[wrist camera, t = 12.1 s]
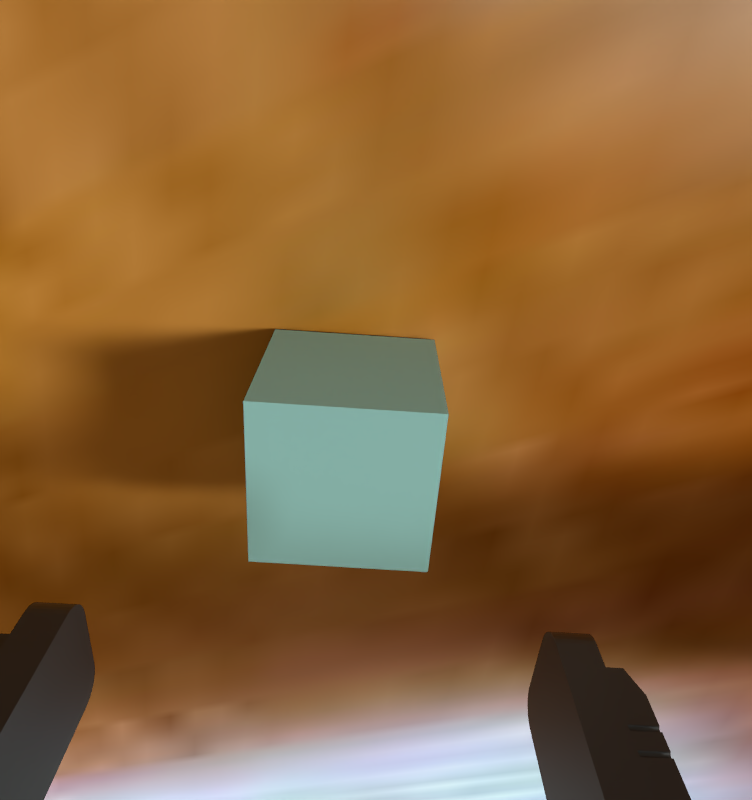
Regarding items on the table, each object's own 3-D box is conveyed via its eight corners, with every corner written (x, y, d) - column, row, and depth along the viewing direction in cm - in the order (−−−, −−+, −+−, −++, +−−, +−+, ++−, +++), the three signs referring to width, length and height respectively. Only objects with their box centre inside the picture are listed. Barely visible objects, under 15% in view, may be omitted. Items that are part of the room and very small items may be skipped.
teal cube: (419, 473, 22) (427, 572, 18) (276, 464, 22) (248, 561, 18) (434, 339, 20) (448, 413, 15) (275, 329, 20) (243, 401, 15)
